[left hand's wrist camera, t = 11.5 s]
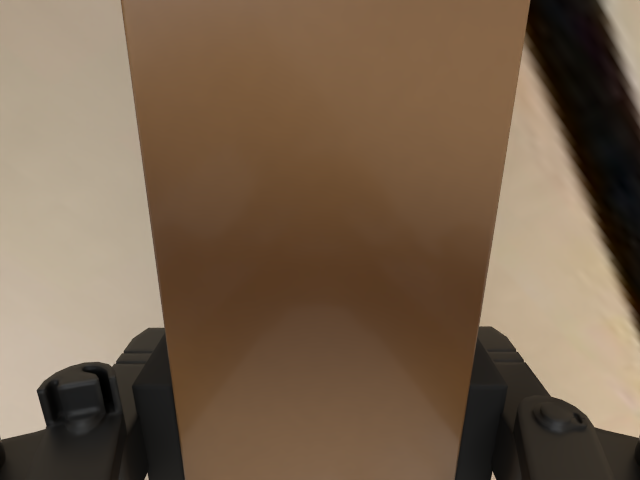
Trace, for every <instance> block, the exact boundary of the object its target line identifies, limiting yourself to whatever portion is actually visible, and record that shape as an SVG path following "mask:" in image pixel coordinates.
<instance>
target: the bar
mask: <svg viewBox="0 0 640 480" xmlns="http://www.w3.org/2000/svg"><path fill="white" fill-rule="evenodd" d="M121 5H122V13H123V20H124V27H125V35H126V42H127V50H128V57H129V65H130V72H131V80H132V87H133V95H134V102H135V110H136V117H137V125H138V132H139V140H140V147H141V155H142V162H143V170H144V177H145V185H146V192H147V199H148V207H149V214H150V222H151V229H152V237H153V244H154V252H155V259H156V267H157V274H158V282H159V289H160V297H161V304H162V312H163V319H164V327H165V334H166V342H167V349H168V357H169V364H170V371H171V379H172V386H173V394H174V401H175V409H176V416H177V424H178V431H179V439H180V446H181V454H182V461H183V469H184V476H185V480H455V475H456V469H457V462H458V456H459V450H460V443H461V437H462V430H463V424H464V418H465V411H466V405H467V399H468V392H469V386H470V380H471V373H472V367H473V361H474V354H475V348H476V342H477V335H478V329H479V322H480V316H481V310H482V303H483V297H484V291H485V284H486V278H487V272H488V265H489V259H490V253H491V246H492V240H493V234H494V227H495V221H496V214H497V208H498V202H499V195H500V189H501V183H502V176H503V170H504V164H505V157H506V151H507V145H508V138H509V132H510V125H511V119H512V113H513V106H514V100H515V94H516V87H517V81H518V75H519V68H520V62H521V56H522V49H523V43H524V37H525V30H526V24H527V17H528V11H529V5H530V0H121Z"/></svg>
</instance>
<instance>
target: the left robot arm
mask: <svg viewBox="0 0 640 480" xmlns="http://www.w3.org/2000/svg"><path fill="white" fill-rule="evenodd" d="M37 393H38V397H39V400H40V404H41V408H42V411H43V415H44V418H45V422H46V425H47V427H46V429H44V430H41V431H37V432H34V433H29V434H25V435H20V436H16V437H12V438H7V439H3V440H1V438H0V480H144V479H145V477H146V475H147V472H148V477H149V480H185V476H184V469H183V461H182V454H181V446H180V439H179V431H178V424H177V416H176V409H175V401H174V394H173V386H172V379H171V371H170V364H169V357H168V349H167V342H166V334H165V328H148V329H146V330H145V331H143V332H142V333H140V334H139V335H137V336H136V337H135V338H133V339H132V341H131V342H130V343H129V345H128V346H127V347H126V349H125V350H124V353H122V354H121V356H120V357H119V358H118V360H117V361H116V364H114V365H113V366H112V367H111V366H110V365H109V364H105V363H100V362H88V363H82V364H78V365H74V366H70V367H68V368H65V369H63V370H61V371H59V372H56V373H55V374H53V375H52V376H51V377H49V378H48V379H46V380H45V381H44V382H43V383H42V384H41V386H40V387H39V388H38V389H37ZM492 471H493V473H494V475H495V478H496V480H640V436H639V438H636V437H632V436H627V435H623V434H619V433H614V432H610V431H605V430H602V429H598V428H595V427H594V426H593V424H592V423H591V422H590V420H589V419H588V417H587V416H586V415H585V414H584V413H583V412H581V411H580V410H579V409H578V408H576V407H575V406H573V405H571V404H569V403H567V402H565V401H563V400H561V399H557V398H554V397H551V396H550V395H549V393H548V392H547V391H546V389H545V388H544V387H543V385H542V384H541V383H540V381H539V380H538V379H537V377H536V376H535V375H534V373H533V372H532V370H531V369H530V368H529V366H528V365H527V364H526V362H524V360H523V358H522V357H521V356H520V354H519V353H518V352H516V349H515V348H514V346H513V345H512V343H511V342H510V341H509V339H508V338H507V337H506V336H504V335H503V334H501V333H500V332H499V331H497V330H496V329H494V328H493V327H479V329H478V335H477V342H476V348H475V354H474V361H473V367H472V373H471V380H470V386H469V392H468V399H467V405H466V411H465V418H464V424H463V430H462V437H461V443H460V450H459V456H458V462H457V469H456V475H455V480H491V476H492Z"/></svg>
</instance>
